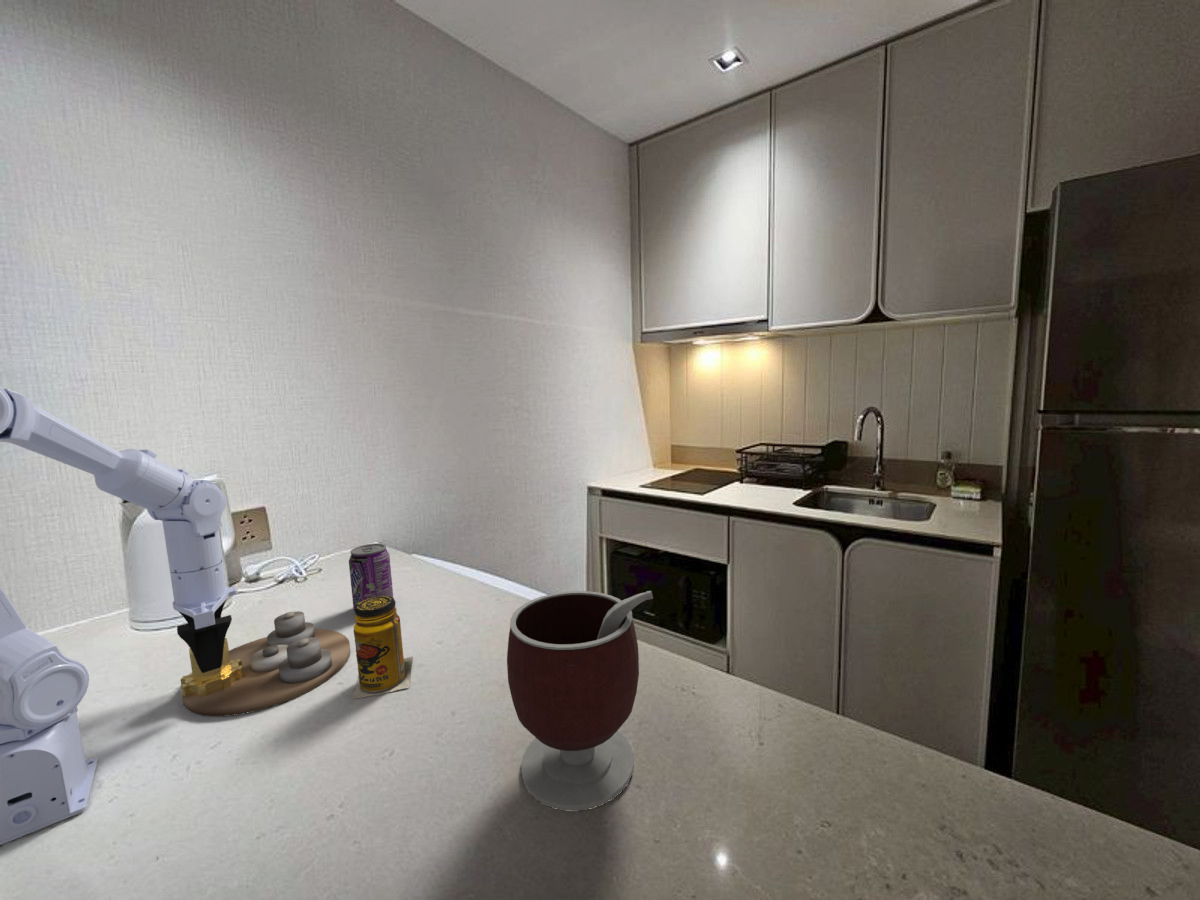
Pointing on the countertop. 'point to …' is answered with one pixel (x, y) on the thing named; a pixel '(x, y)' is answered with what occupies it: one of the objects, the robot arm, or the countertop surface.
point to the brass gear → (211, 676)
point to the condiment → (379, 648)
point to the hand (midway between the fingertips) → (210, 658)
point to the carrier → (277, 668)
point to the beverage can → (370, 572)
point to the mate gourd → (575, 694)
